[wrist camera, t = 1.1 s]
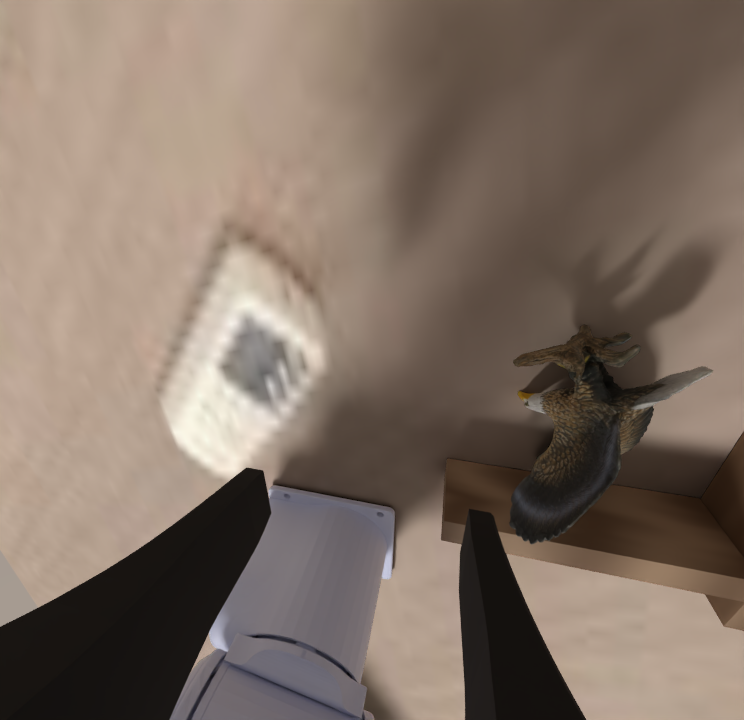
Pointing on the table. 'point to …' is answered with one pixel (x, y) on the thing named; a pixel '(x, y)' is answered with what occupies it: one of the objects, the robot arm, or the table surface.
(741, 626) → the walnut corner bracket
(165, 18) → the table surface
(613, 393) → the eagle figurine
